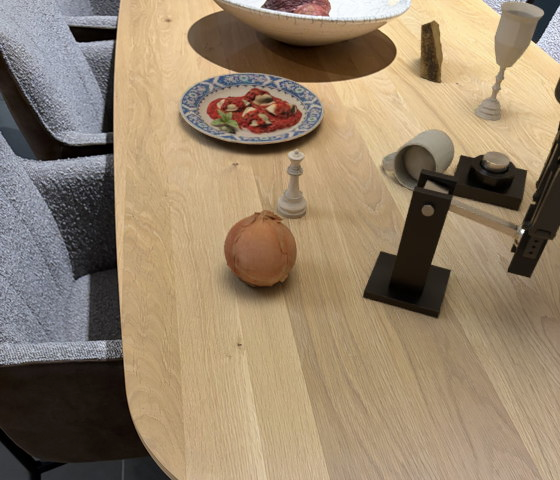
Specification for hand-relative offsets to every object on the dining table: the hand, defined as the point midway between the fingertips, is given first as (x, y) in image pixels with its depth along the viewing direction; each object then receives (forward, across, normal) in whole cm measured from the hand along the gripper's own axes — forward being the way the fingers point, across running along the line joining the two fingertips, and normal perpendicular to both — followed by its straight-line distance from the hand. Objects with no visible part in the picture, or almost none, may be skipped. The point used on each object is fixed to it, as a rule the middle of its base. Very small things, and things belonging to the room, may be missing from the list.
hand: (520, 262), depth 73 cm
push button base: (+8, -29, -5) cm, 31 cm away
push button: (+5, -29, -5) cm, 30 cm away
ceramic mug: (+8, -27, -17) cm, 33 cm away
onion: (+8, +6, -31) cm, 33 cm away
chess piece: (+8, -10, -32) cm, 35 cm away
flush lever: (-3, 0, -6) cm, 7 cm away
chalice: (+8, -55, -8) cm, 56 cm away
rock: (+8, -69, -22) cm, 73 cm away
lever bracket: (+8, 0, -12) cm, 15 cm away
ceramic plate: (+8, -34, -48) cm, 60 cm away
